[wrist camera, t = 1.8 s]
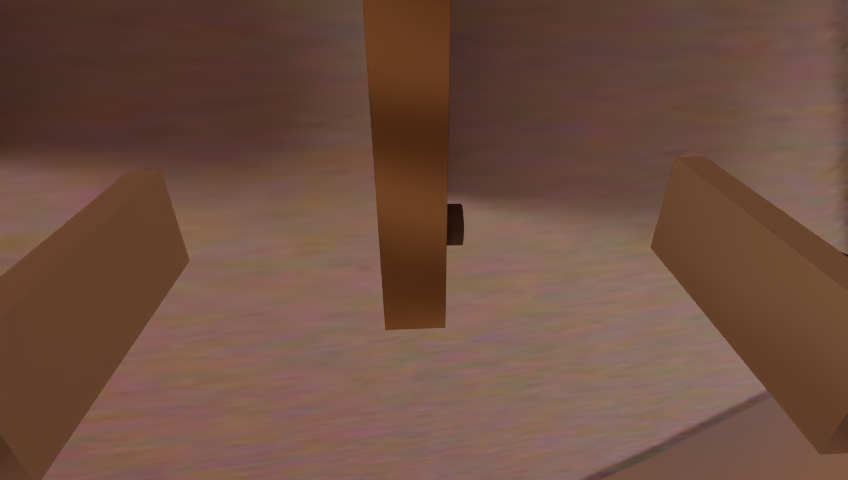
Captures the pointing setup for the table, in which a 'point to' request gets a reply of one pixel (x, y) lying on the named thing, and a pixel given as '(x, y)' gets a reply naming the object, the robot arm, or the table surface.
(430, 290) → the door
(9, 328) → the robot arm
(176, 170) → the table surface
